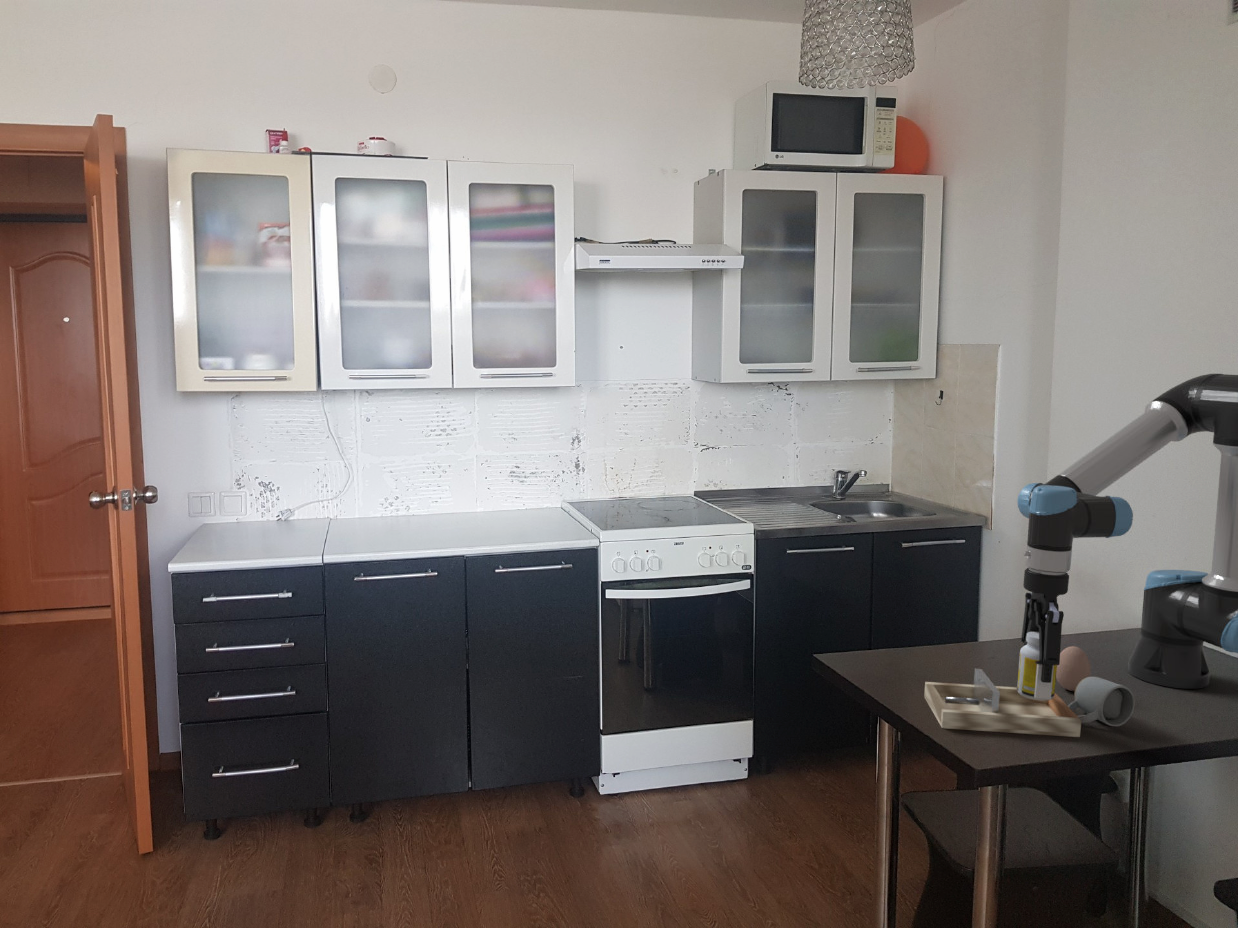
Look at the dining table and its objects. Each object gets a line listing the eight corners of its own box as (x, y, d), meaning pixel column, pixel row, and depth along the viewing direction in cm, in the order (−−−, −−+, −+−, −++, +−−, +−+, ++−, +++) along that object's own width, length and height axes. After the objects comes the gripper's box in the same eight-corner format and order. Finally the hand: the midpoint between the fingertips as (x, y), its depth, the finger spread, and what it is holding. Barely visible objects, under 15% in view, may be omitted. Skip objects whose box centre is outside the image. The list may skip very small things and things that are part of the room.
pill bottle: (1057, 703, 175) (1063, 642, 173) (1020, 699, 176) (1025, 638, 175) (1049, 691, 181) (1054, 631, 180) (1013, 687, 183) (1018, 628, 181)
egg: (1073, 697, 191) (1077, 653, 189) (1045, 686, 196) (1049, 643, 195) (1096, 693, 193) (1100, 649, 192) (1068, 682, 199) (1072, 640, 198)
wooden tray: (1050, 704, 186) (1051, 689, 186) (1079, 736, 171) (1081, 720, 171) (924, 696, 189) (925, 681, 188) (942, 727, 174) (943, 711, 173)
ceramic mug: (1100, 708, 185) (1103, 669, 184) (1134, 724, 178) (1137, 684, 177) (1055, 713, 182) (1057, 675, 181) (1087, 730, 175) (1090, 690, 174)
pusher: (979, 698, 186) (981, 668, 185) (997, 723, 174) (999, 691, 173) (937, 695, 187) (940, 666, 186) (953, 720, 175) (955, 689, 174)
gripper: (1010, 557, 186) (1000, 671, 189) (1043, 581, 166) (1031, 708, 169) (1050, 559, 185) (1039, 674, 188) (1088, 584, 166) (1076, 711, 169)
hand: (1036, 690), depth 179 cm, fingers closed on pill bottle, 6 cm apart
